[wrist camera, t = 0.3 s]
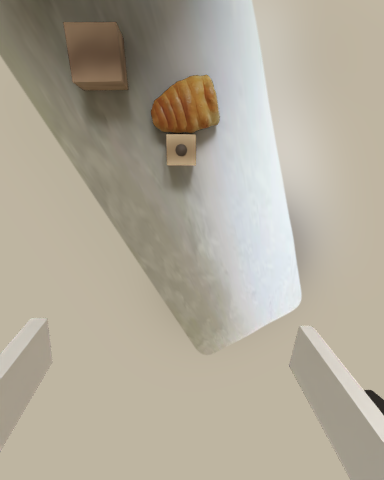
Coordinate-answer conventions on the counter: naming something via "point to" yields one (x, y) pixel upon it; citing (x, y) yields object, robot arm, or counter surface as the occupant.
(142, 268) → the counter surface
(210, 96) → the pastry
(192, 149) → the beech block
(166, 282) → the counter surface
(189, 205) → the counter surface
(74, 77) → the walnut block
